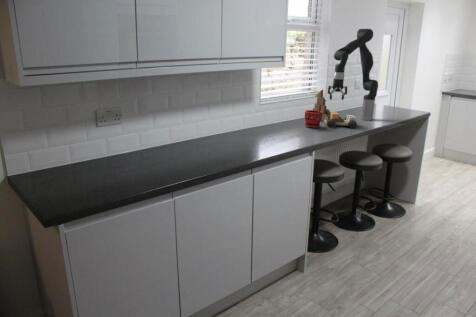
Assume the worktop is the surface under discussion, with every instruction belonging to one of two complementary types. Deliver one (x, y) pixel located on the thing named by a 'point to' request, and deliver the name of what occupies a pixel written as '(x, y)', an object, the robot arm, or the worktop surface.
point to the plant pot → (313, 121)
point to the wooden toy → (321, 105)
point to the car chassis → (341, 121)
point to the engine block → (334, 115)
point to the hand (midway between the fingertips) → (336, 99)
